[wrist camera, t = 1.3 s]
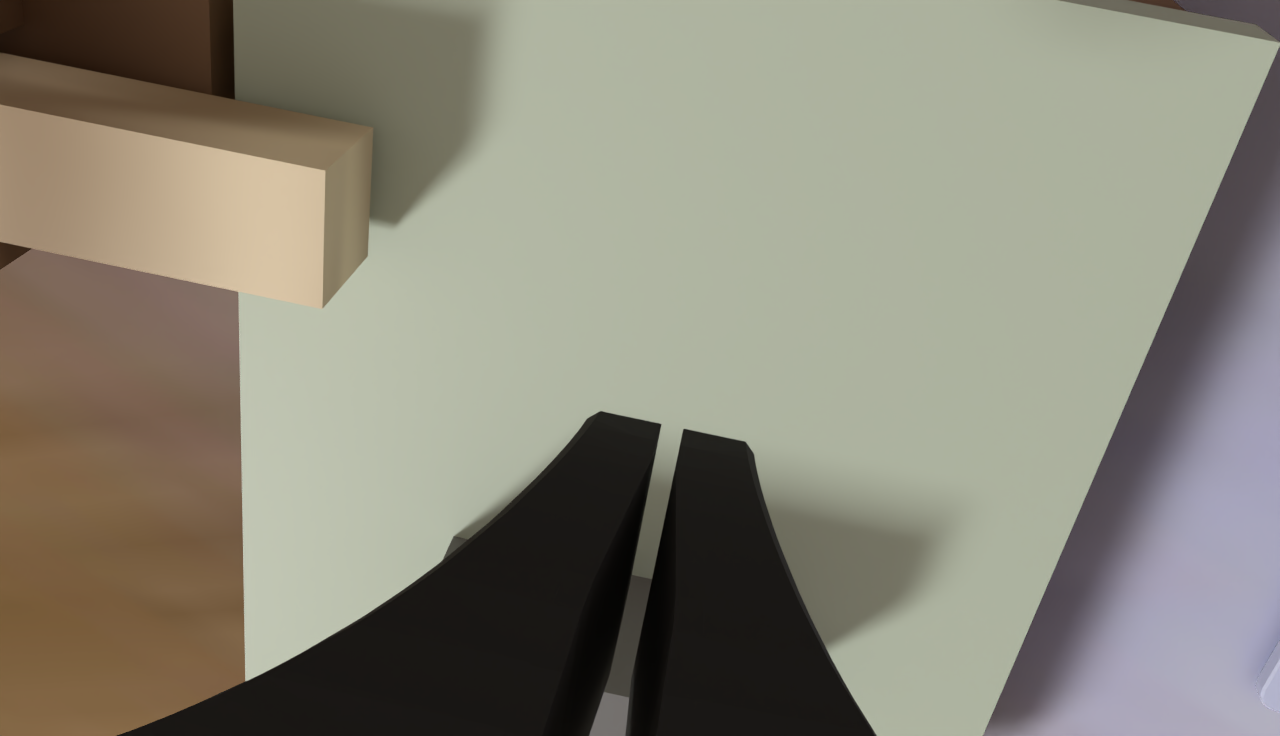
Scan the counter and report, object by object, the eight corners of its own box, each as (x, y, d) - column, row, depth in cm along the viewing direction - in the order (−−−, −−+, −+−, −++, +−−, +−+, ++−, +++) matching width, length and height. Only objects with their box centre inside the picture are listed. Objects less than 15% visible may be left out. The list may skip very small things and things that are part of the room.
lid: (1255, 24, 16) (1370, 107, 12) (889, 905, 25) (897, 1087, 21) (262, -165, 16) (117, -134, 13) (267, 763, 25) (183, 920, 22)
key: (372, 127, 16) (325, 170, 15) (368, 256, 17) (322, 308, 16) (-102, 31, 17) (-197, 64, 15) (-80, 163, 18) (-168, 207, 16)
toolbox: (1168, -5, 18) (1304, 110, 13) (874, 780, 27) (884, 1037, 22) (61, -213, 19) (-233, -187, 14) (130, 615, 28) (-33, 823, 23)
